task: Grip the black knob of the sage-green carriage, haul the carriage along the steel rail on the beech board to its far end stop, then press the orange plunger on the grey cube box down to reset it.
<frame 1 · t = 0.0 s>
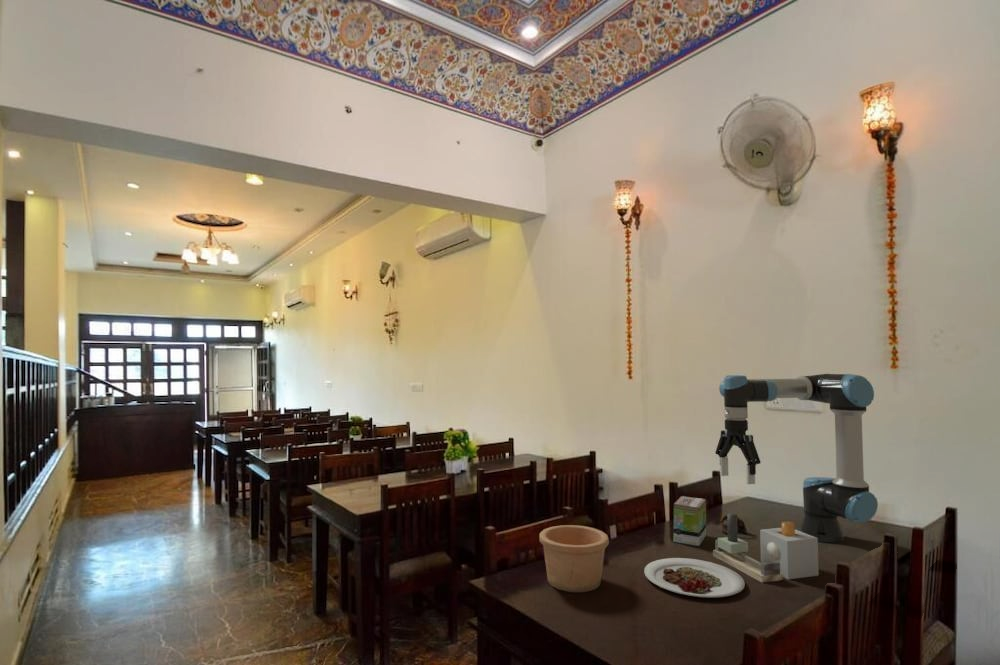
hand: (737, 479, 189), 28 cm above the table, tool pointing down, fingers open, 13 cm apart
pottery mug: (733, 532, 219), on the table
pottery: (573, 582, 170), on the table
reset plunger: (788, 536, 179), point 11 cm above the table, slide at 0.0 cm
carriage: (732, 531, 188), point 10 cm above the table, slide at -6.5 cm
tea box: (690, 539, 210), on the table
rail board: (746, 567, 181), on the table
plated food: (693, 582, 170), on the table
grey cube box: (789, 570, 179), on the table
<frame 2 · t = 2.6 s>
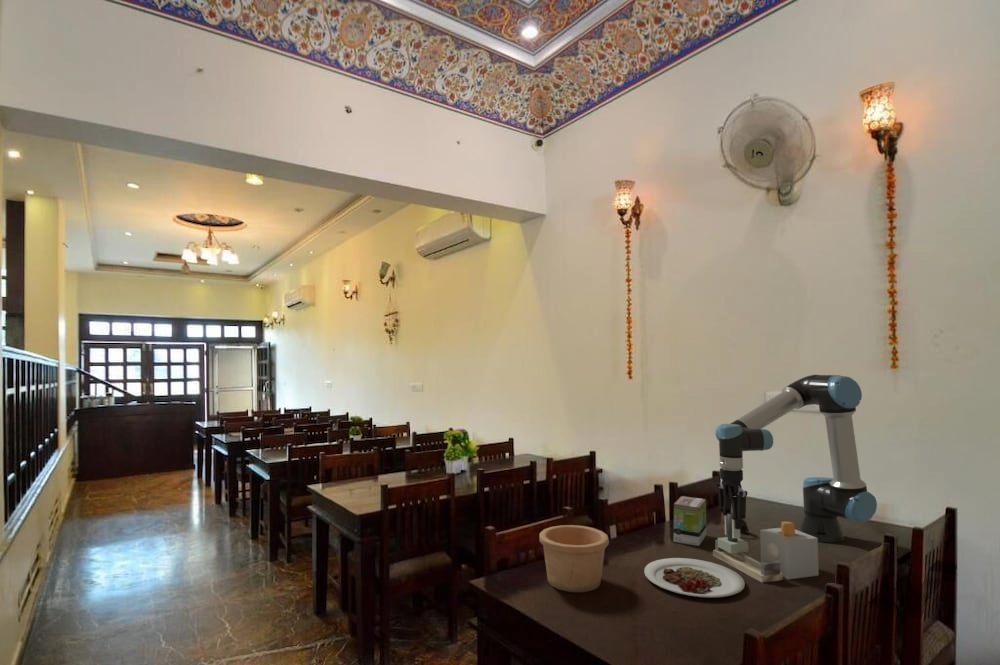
hand: (732, 535, 188), 8 cm above the table, tool pointing down, fingers closed on carriage, 3 cm apart
carriage: (732, 531, 188), point 10 cm above the table, slide at -6.5 cm, touching gripper
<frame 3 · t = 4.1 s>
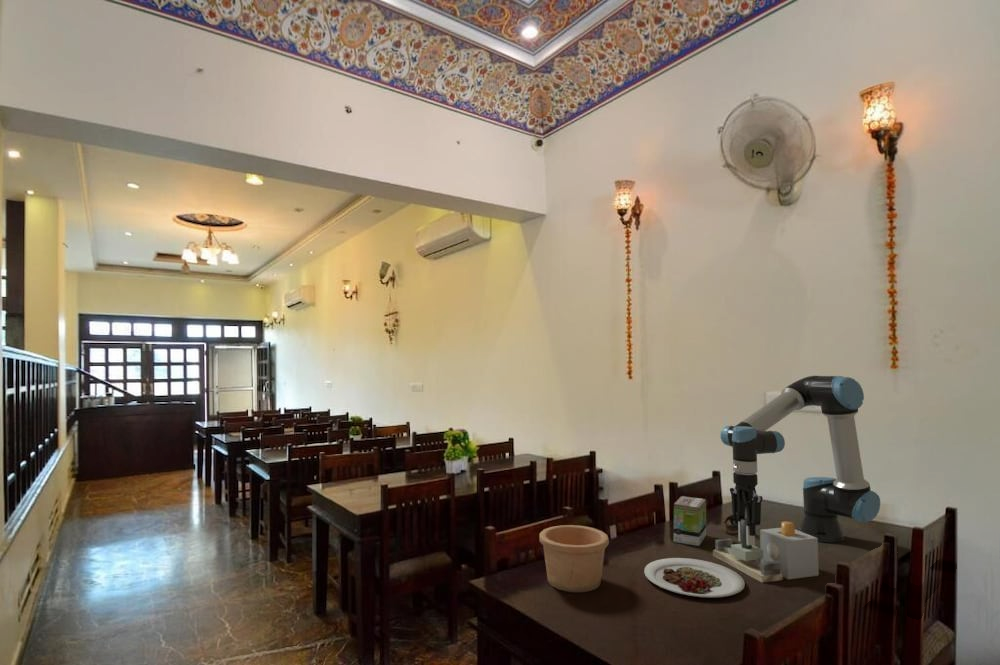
hand: (746, 542, 181), 8 cm above the table, tool pointing down, fingers closed on carriage, 3 cm apart
carriage: (746, 538, 181), point 10 cm above the table, slide at 0.6 cm, touching gripper
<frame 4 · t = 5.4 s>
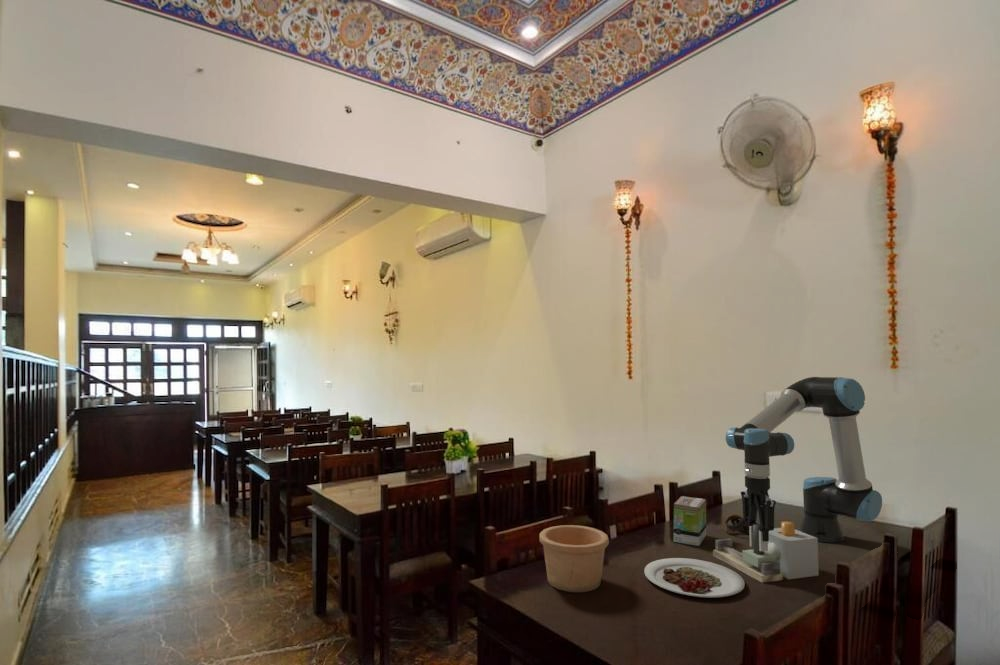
hand: (758, 548, 176), 8 cm above the table, tool pointing down, fingers open, 4 cm apart
carriage: (758, 543, 176), point 10 cm above the table, slide at 6.2 cm
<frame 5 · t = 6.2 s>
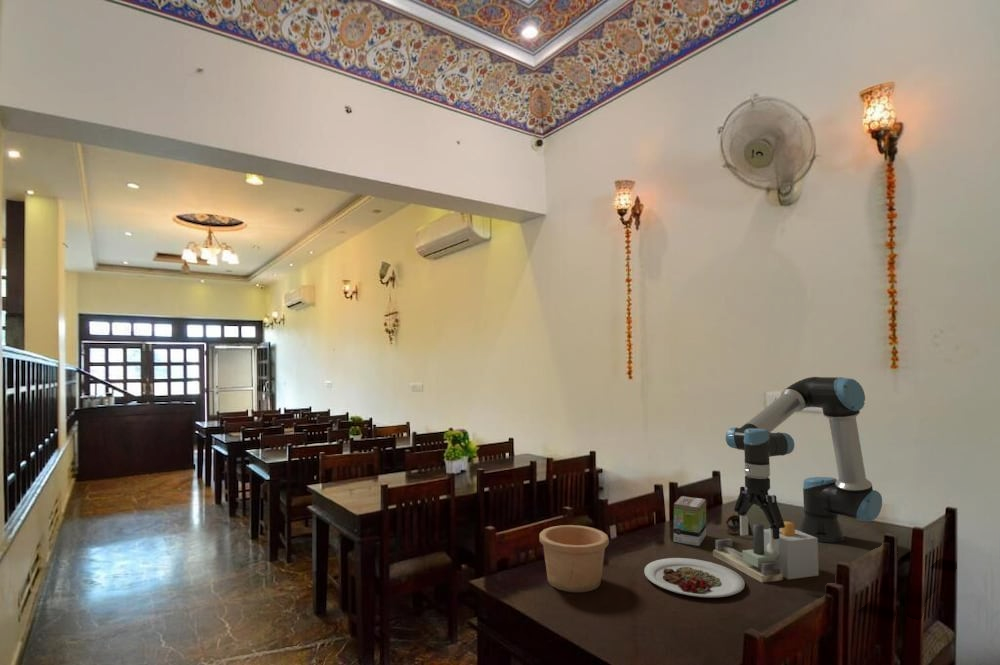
hand: (758, 541, 176), 11 cm above the table, tool pointing down, fingers open, 13 cm apart
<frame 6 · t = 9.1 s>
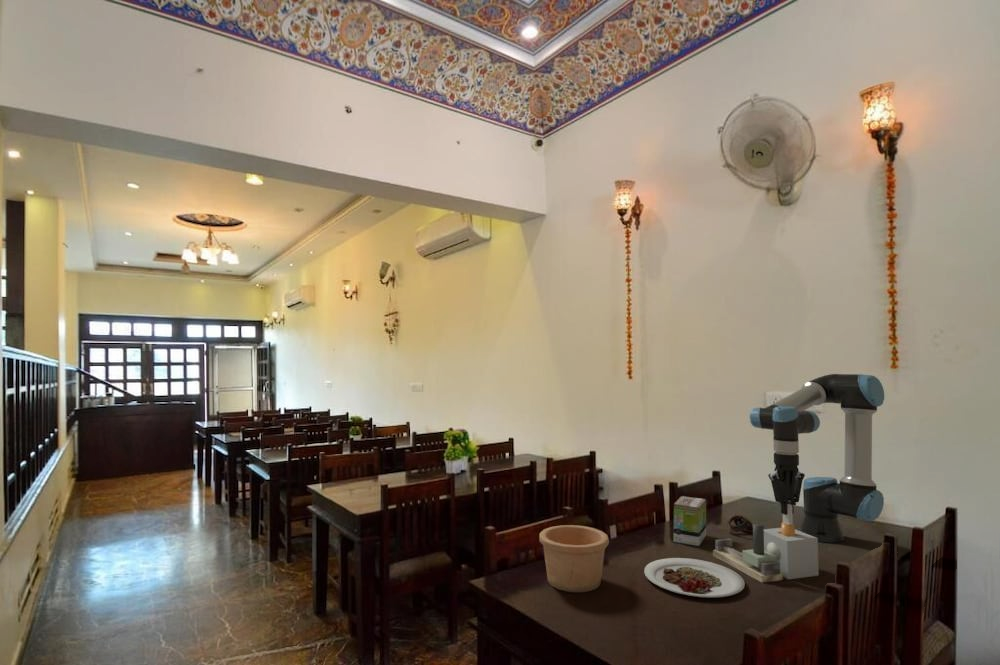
hand: (787, 523, 179), 15 cm above the table, tool pointing down, fingers closed
reset plunger: (788, 537, 179), point 11 cm above the table, slide at 0.5 cm, touching gripper
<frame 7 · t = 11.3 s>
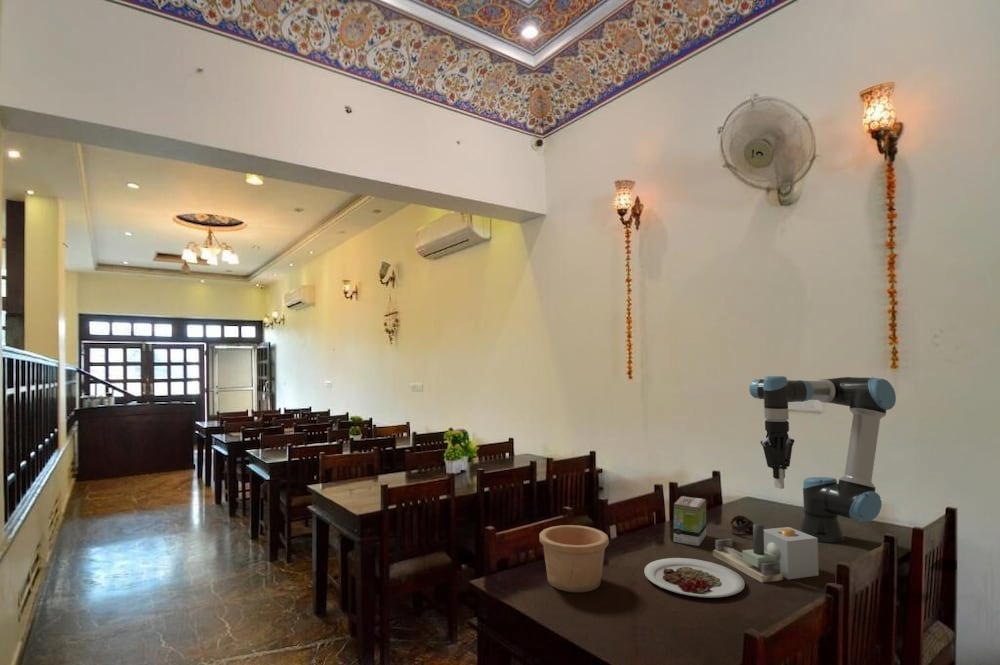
hand: (779, 487, 188), 25 cm above the table, tool pointing down, fingers closed
reset plunger: (788, 543, 179), point 9 cm above the table, slide at 2.5 cm
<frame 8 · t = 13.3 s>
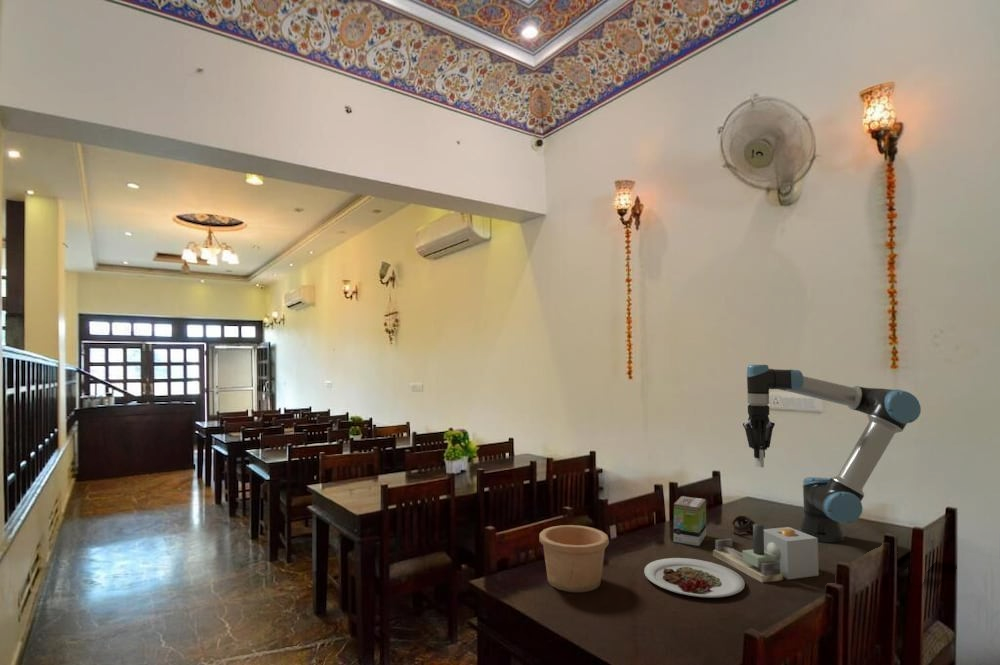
hand: (759, 466, 205), 29 cm above the table, tool pointing down, fingers closed
at the end: carriage slide at 6.2 cm; reset plunger slide at 2.5 cm; the gripper is holding nothing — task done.
